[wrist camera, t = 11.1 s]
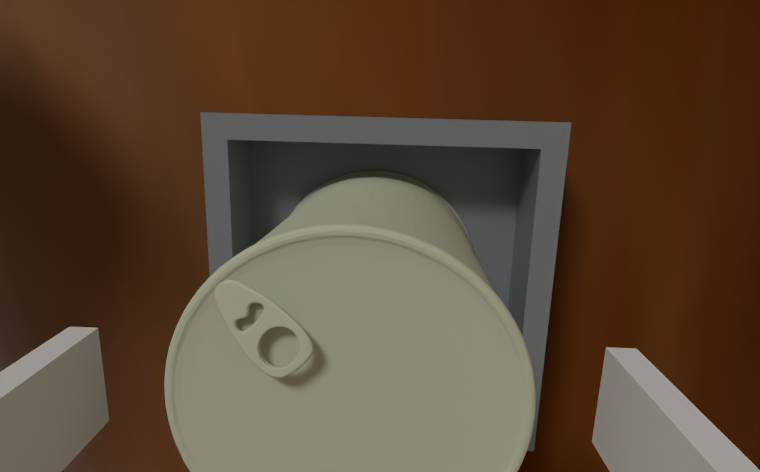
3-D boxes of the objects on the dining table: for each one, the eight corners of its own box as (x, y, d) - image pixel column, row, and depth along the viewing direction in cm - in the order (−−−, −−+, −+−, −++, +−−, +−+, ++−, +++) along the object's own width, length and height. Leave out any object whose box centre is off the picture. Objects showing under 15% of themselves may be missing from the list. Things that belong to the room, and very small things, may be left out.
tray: (246, 386, 26) (218, 433, 22) (235, 113, 23) (200, 112, 19) (514, 400, 26) (534, 451, 22) (542, 121, 22) (571, 122, 18)
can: (377, 126, 22) (345, 135, 10) (515, 273, 23) (629, 434, 11) (237, 263, 23) (72, 407, 12) (371, 393, 25) (342, 639, 13)
